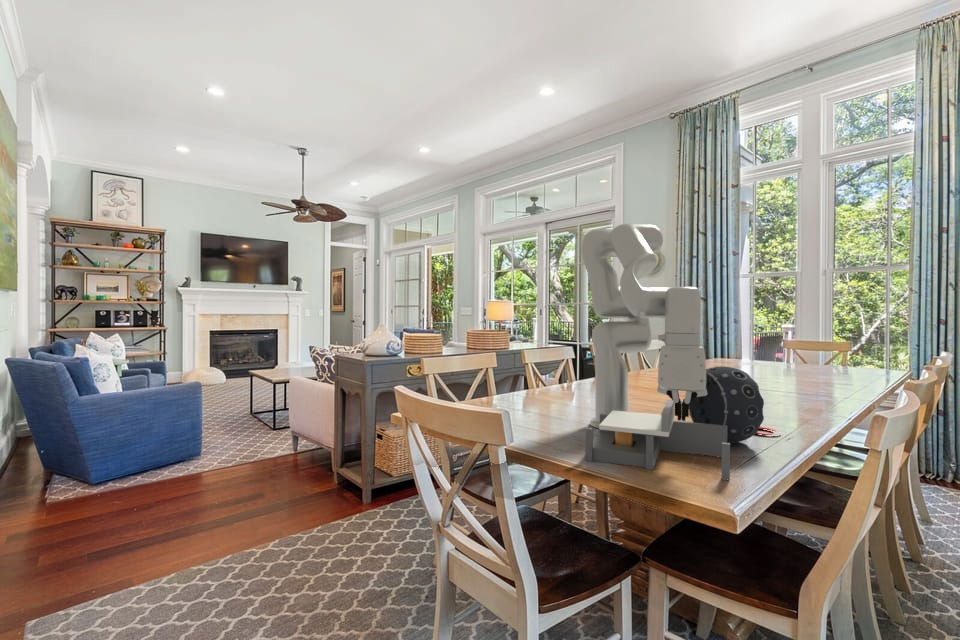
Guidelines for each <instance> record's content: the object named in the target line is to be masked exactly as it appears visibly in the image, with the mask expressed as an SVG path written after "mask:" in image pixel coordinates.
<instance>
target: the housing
mask: <svg viewBox="0 0 960 640" xmlns="http://www.w3.org/2000/svg"><path fill="white" fill-rule="evenodd" d="M608 415H609V414H600V424H601V423H602V421H603V420H604V419H605V418H606V417H607V416H608ZM584 430H585V439H584V440H585V443H584V444H585V451H584V452H585V454H584V455H585V458H584V459H585V461H586V462H590V463H591V462H593V461H595V462H603V463H609V464H610V463H611V464H617V465H622V464H623V465H624V466H630V465H631V467H637V466H638V467H639V468H644V467H645V470H648V471H654V469H655V466H656V463H657V460H658V457H659V454H660V451H662V450H663V451H664V452H672V453H679V452H680V453H679V454H687V453H690V454H689V455H695V454H701V455H700V456H704V455H709V456H708V457H712V456H719V457H718V458H720V457H722V458H721V480H722V479H728V480H730V481H731V478H730V477H731V461H730V460H731V443H727V426H726V425H715V424H705V423H694V422H693V421H683V420H674V421H673V424H672V428H671V431H670V434H669V437H665V436H656V435H647V434H637V433H632V443H633V447H632V446H623V445H616V444H615V431H610V430H601V429H599V432H598V433H597V434H596V435H595V436H594V427H586V428H585V429H584ZM623 465H622V466H623ZM638 467H637V468H638Z"/></svg>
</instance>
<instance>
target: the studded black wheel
mask: <svg viewBox="0 0 960 640" xmlns="http://www.w3.org/2000/svg"><path fill="white" fill-rule="evenodd" d="M706 389H707V395H706V396H700V397H696V398H695V399H693V400H692V401H691V402H690V403H689V416H690V418H691V420H692V421H691V422H694V423H705V424H715V425H726V426H727V443H730V444H733V443H739V442H743V441H747V440H749V439H750V438H752V437H754V436H756V435H755V434H756V433H757V432H759V430H758V429H759V427H760V426H761V425H762V424H763V421H764V419H765V416H764V405H765V403H764V398H763V396H762V395H761V393H760V386H759V384H758V382H756V381H755V379H753V378H752V377H751V376H750V374H749V373H747V372H746V371H743V370H741V369H739V368H735V367H731V366H724V365H723V366H711V367H709V368H706ZM692 392H693V391H692Z"/></svg>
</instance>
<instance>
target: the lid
mask: <svg viewBox="0 0 960 640" xmlns="http://www.w3.org/2000/svg"><path fill="white" fill-rule="evenodd" d="M673 421H675V402H674V401H673V400H672V399H666V402H665V404H664V406H663V409H662V411H661V414H657V413H645V412H636V411H635V412H634V411H628V412H625V411H614V410H613V411H612V412H611V413H610V414H609V415H608V416H607V417H606V418H605V419H604V420H603V421H602V423H601V424H600V425H599V430H600V429H601V430H610V431H619V432H628V433H637V434H647V435H656V436H665V437H669V434H670V431H671V428H672V424H673Z"/></svg>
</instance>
